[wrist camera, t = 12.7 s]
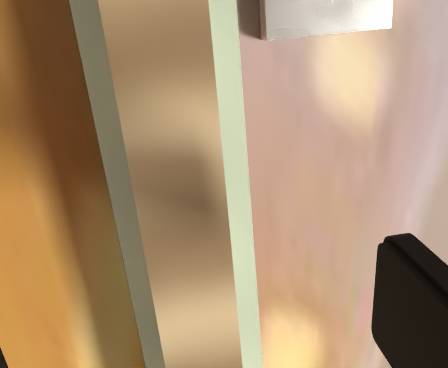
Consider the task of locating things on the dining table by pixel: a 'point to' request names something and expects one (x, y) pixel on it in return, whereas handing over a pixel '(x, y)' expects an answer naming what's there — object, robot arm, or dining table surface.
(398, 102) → the dining table surface
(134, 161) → the rail
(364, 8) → the post
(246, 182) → the mat
